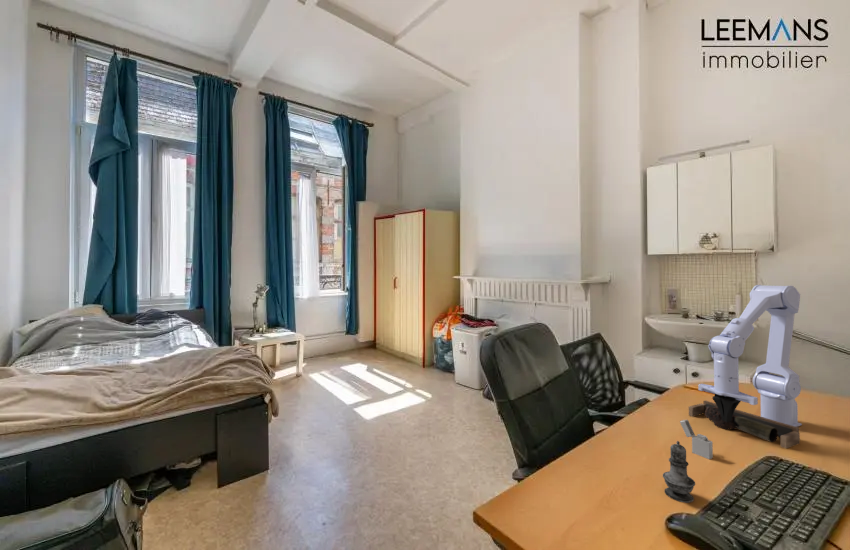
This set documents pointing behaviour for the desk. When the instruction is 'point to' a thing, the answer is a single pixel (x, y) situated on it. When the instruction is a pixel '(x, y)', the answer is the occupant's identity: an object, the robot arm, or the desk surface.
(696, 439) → the lighter
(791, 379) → the robot arm
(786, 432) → the bearing cradle
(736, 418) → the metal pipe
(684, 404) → the desk surface
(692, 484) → the salt shaker
